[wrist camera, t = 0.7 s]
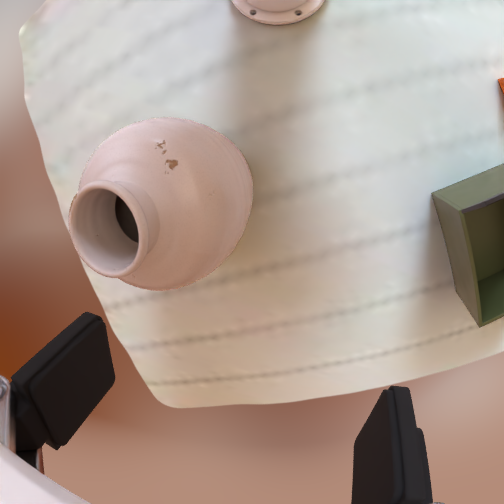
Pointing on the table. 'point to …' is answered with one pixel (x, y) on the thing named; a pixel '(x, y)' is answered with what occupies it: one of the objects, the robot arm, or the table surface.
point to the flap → (484, 203)
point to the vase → (161, 203)
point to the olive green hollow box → (475, 242)
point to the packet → (501, 84)
